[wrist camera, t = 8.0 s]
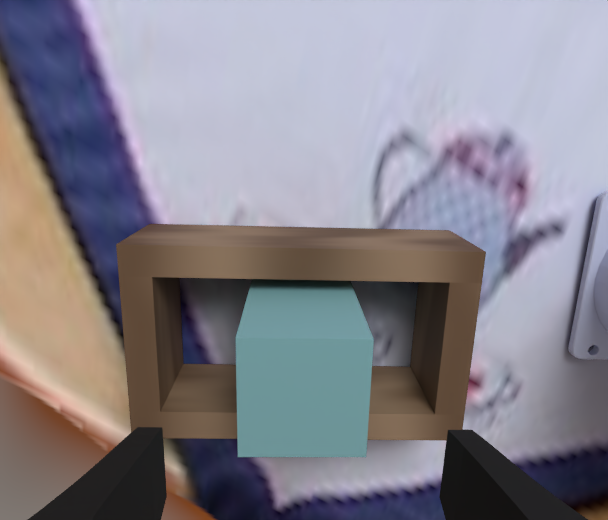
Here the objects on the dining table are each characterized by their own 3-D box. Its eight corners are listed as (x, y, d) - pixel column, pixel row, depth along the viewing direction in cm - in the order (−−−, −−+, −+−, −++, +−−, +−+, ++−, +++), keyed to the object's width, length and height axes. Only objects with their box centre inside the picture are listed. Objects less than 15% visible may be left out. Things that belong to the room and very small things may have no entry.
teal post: (343, 265, 21) (373, 339, 13) (340, 345, 22) (366, 457, 14) (256, 264, 21) (235, 338, 13) (256, 344, 22) (237, 456, 14)
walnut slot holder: (449, 230, 21) (485, 251, 17) (431, 388, 23) (460, 440, 19) (149, 224, 20) (116, 244, 16) (159, 385, 22) (131, 437, 19)
